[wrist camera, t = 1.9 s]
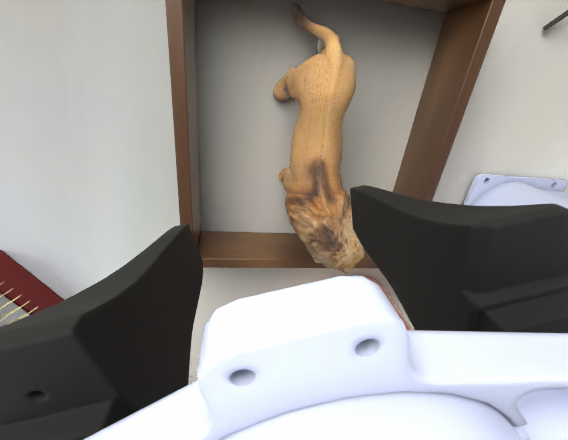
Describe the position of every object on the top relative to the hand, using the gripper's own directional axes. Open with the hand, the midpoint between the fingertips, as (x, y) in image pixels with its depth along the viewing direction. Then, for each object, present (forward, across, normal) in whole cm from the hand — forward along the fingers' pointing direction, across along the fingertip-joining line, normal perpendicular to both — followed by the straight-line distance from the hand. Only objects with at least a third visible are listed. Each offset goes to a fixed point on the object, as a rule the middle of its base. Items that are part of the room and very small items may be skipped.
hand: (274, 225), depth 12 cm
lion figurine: (+10, -4, -1) cm, 11 cm away
